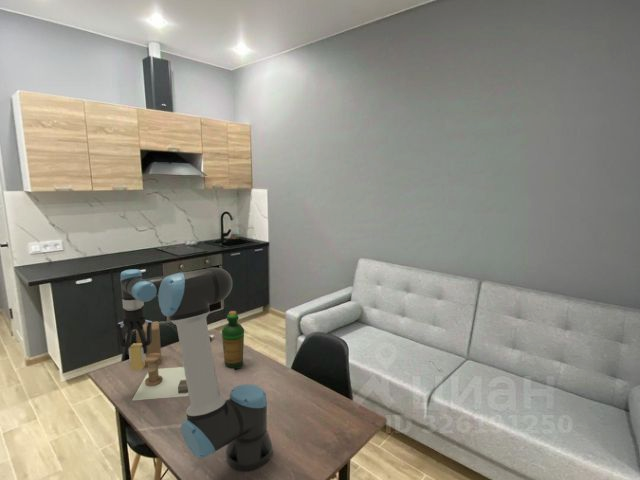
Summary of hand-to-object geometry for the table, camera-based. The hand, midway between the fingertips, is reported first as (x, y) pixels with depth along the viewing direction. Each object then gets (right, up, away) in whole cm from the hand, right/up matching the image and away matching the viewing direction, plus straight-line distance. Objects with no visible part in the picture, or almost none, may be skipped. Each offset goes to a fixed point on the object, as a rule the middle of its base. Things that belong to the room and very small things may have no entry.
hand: (137, 360), depth 146 cm
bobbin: (+2, -13, +10) cm, 16 cm away
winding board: (+8, -14, +10) cm, 19 cm away
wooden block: (-8, -11, +28) cm, 31 cm away
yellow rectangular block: (0, -3, +1) cm, 3 cm away
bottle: (+33, -12, +27) cm, 45 cm away
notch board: (+16, -13, +12) cm, 24 cm away
